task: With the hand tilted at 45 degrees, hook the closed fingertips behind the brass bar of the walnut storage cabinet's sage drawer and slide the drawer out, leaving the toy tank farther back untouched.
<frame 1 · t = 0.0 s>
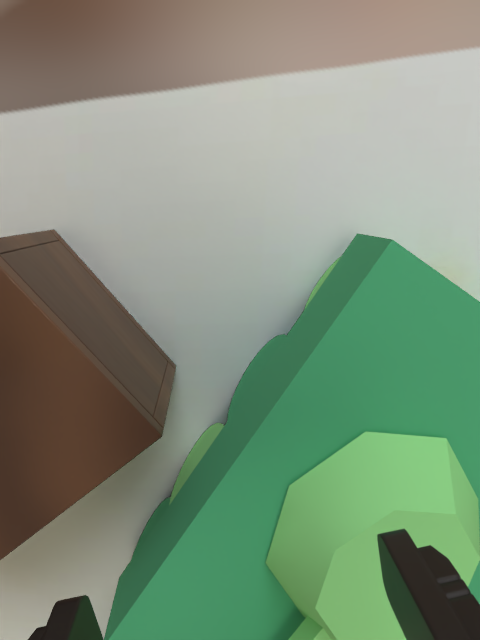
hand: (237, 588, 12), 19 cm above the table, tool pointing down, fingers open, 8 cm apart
cabinet: (40, 363, 29), on the table
toy tank: (296, 494, 34), on the table
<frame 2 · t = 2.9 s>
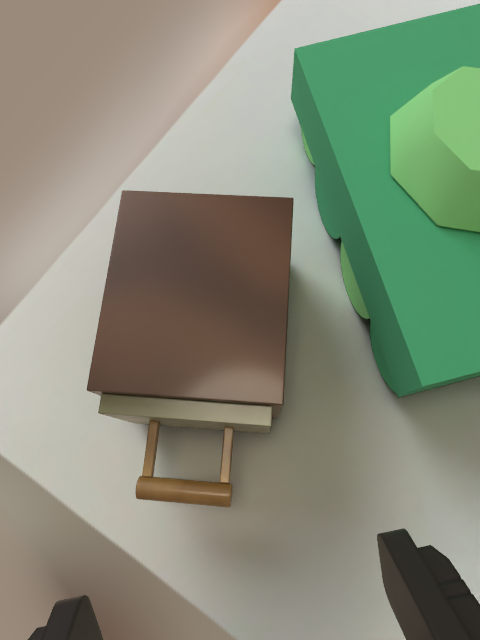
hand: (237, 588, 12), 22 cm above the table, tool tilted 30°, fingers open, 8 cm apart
cabinet: (211, 330, 37), on the table
drawer: (198, 369, 31), point 5 cm above the table, slide at 0.0 cm, touching cabinet
toy tank: (445, 266, 38), on the table
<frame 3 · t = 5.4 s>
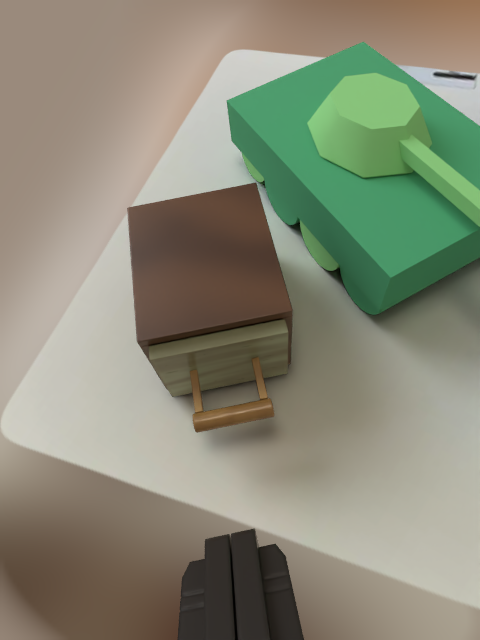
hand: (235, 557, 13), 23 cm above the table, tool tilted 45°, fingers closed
cabinet: (217, 314, 44), on the table
drawer: (217, 327, 38), point 5 cm above the table, slide at 0.0 cm, touching cabinet
toy tank: (382, 225, 48), on the table
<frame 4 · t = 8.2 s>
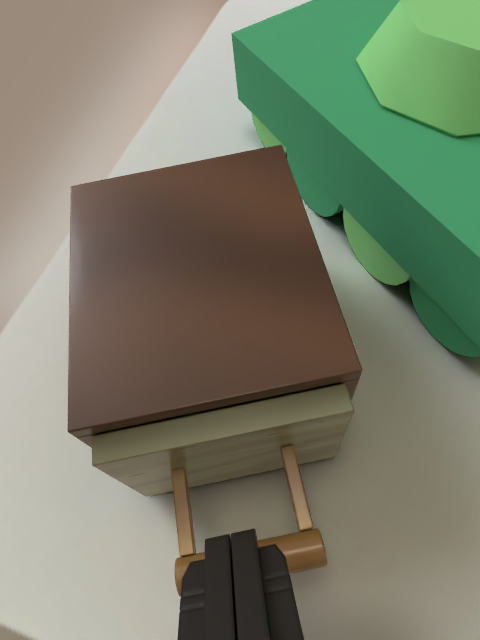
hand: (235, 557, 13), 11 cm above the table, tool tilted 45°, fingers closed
cabinet: (219, 353, 29), on the table
drawer: (220, 385, 23), point 5 cm above the table, slide at 0.0 cm, touching cabinet
toy tank: (461, 217, 33), on the table
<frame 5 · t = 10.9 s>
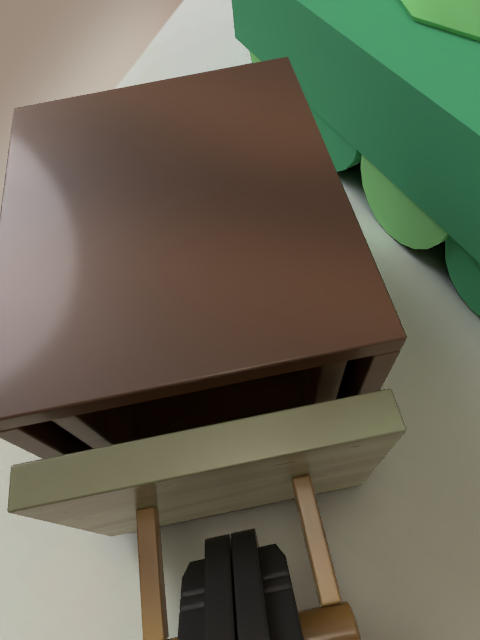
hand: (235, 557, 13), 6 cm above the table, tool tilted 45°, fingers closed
cabinet: (208, 331, 23), on the table
drawer: (209, 389, 17), point 5 cm above the table, slide at 0.9 cm, touching gripper
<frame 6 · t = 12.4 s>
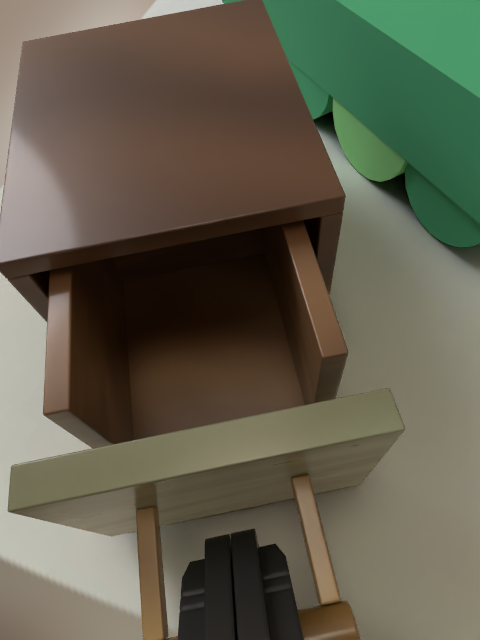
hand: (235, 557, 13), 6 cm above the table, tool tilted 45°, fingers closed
cabinet: (194, 254, 26), on the table
drawer: (208, 389, 17), point 5 cm above the table, slide at 6.3 cm, touching gripper
toy tank: (462, 120, 30), on the table
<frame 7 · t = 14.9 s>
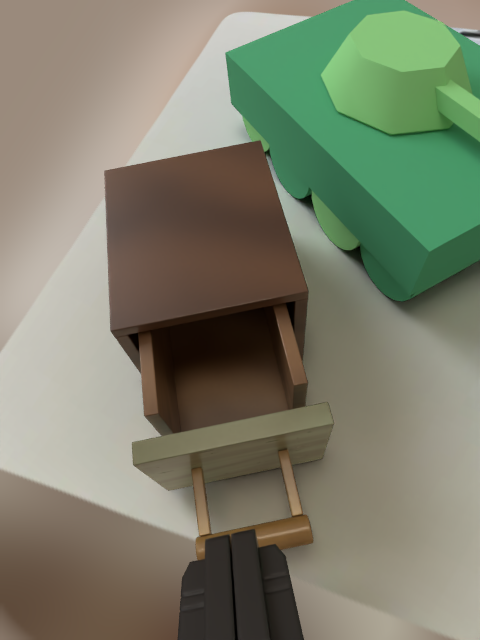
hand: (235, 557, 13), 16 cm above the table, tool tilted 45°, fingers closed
cabinet: (214, 302, 37), on the table
drawer: (229, 400, 28), point 5 cm above the table, slide at 6.3 cm
toy tank: (408, 199, 41), on the table
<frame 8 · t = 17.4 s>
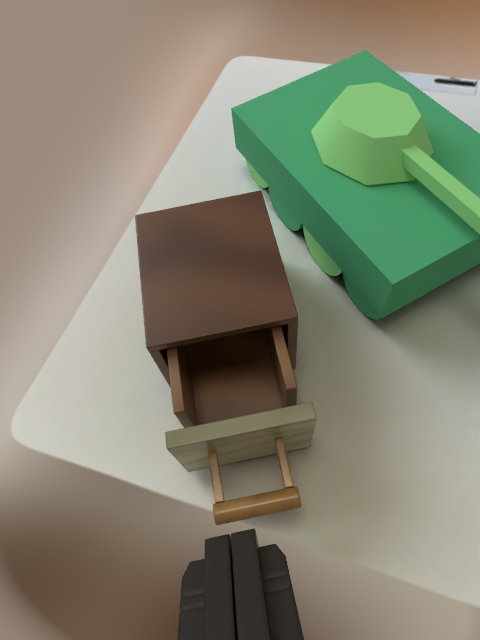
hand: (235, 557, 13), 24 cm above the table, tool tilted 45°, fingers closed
cabinet: (222, 319, 45), on the table
drawer: (237, 400, 36), point 5 cm above the table, slide at 6.3 cm
toy tank: (385, 231, 49), on the table
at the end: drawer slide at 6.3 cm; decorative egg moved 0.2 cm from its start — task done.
